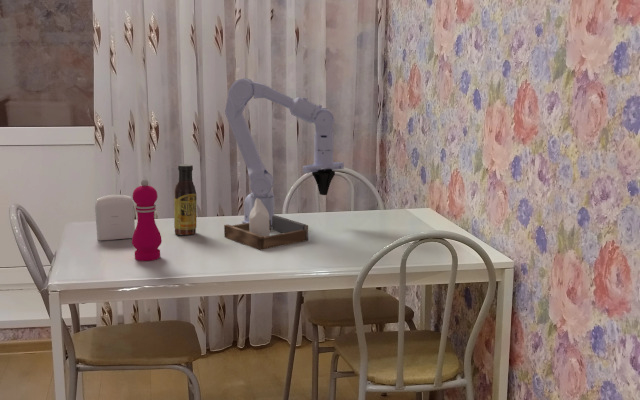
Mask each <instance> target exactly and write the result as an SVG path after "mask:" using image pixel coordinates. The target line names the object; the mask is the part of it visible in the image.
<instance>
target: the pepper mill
mask: <svg viewBox="0 0 640 400" xmlns="http://www.w3.org/2000/svg"><path fill="white" fill-rule="evenodd" d="M157 200H158V192H157V190H156V188H155V187H153V186H150V185H149V180H147V179H146V178H145V179H141V182H140V185H139V186H137V187H136V188H135V189H134V190H133V192H132V201H133V203H135V204H136V205H134V207H135V209H134V212H136V214H137V222H136V226H135V227H136V228H135V231H134V234H133V237H132V238H131V243H132V244H131V245H132V246H133V247H134V249H135V251H134V259H135V260H136V261H141V262H150V261H155V260H159V259H160V258H161V249H159V247H160V246H161V244H162V242H163V240H162V234H161V232H160V230H159V228H158V226H157V223H156V220H155V212H156V210H157V208H156V206H157V205H156V204H155V203H156V202H157Z"/></svg>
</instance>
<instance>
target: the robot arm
mask: <svg viewBox="0 0 640 400" xmlns="http://www.w3.org/2000/svg"><path fill="white" fill-rule="evenodd" d="M251 99H266V100H269V101H270V102H273V103H275V104H277V105H279V106H282V107H285V108H286V109H289V111H290V114H291V116H294V117H296V118H298V119H300V120H303V121H304V122H307V123H309V124H314V125H315V126H314V129H315V131H314V132H315V133H314V135H313V139H314V140H313V145H314V146H313V147H314V148H313V152H314V153H313V163H312V164H307V165H302V173H304V174H310V173H311V174H312V176H313V178H314V180H315V182H316V186H317V189H318V193H319V195H321V196H328V192H329V188H330V185H331V182H332V180H333V179H334V176H335V174H336V171H335V170H344V169H345V167H344V166H345V165H344V164H345V163H344V162H342V161H334V137H335V136H334V127H333V125H334V124H335V119H334V114H333V112H332V111H331V110H330V109H328V108H326V107H323V105H322V104H316V103H314V102H312V101H309V100H308V98H307V97H305V96H303V97H301V96H297V97H296V98H292V97H290V95H289V96H288V95H286V94H284V93H282V92H280V91H279V90H277V89H274V88H273V87H270V86H269V85H267V84H264V83H261V82H258V81H255V80H252V79H249V78H247V77H245V78H244V77H243V78H240V79H236V80H235V81H234V82H232V84H231V86H230V88H229V89H228V92H227V99H226V105H225V109H224V114H225V116H226V119H227V122H228V125H229V127H230V129H231V132H232V134H233V137H234V138H235V141H236V144H237V146H238V148H239V151H240V153H241V154H240V155H241V156H242V159H243V161H244V163H245V165H246V168H247V169H246V170H247V172H248V177H249V180H250V185H249V187H250V190H251V191H250V193H249V194H248V195H246V197H245V199H244V201H243V202H244V203H243V207H244V209H243V211H244V212H243V213H244V217H243V219H244V220H241V224H244V223H249V215H250V212H251V210H252V208H253V207H254V203H255V200H256V198H258V199H260V200H261V202H262V203H263V205H264V206H265V207H266V209H267V210H268V213H269V220H271V227H272V216H274V215H275V192H273V191H272V188H273V186H274V181H275V179H274V177H273V175H272V174H271V173H270V172H269V171H268V170H267V168H266V166H265V164H264V163H263V161H262V157H261V156H260V153H259V151H258V148H257V146H256V144H255V140H254V138H253V136H252V133H251V131H250V128H249V126H248V123H247V121H246V119H245V116H244V114H243V113H244V110H245V109H246V107H247V104H248V102H249V101H250V100H251Z"/></svg>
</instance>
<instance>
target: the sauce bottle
mask: <svg viewBox="0 0 640 400" xmlns="http://www.w3.org/2000/svg"><path fill="white" fill-rule="evenodd" d="M177 169H178V182H177V184H176V185H175V188H174V200H173V201H174V203H173V204H174V205H173V206H174V208H173V209H174V215H173V217H174V218H173V219H174V220H173V221H174V224H173V225H174V227H173V228H174V234H175V235H178V236H191V235H194V234H196V232H197V201H198V200H197V192H196V191H197V190H196V186H195V185H194V182H193V170H194V166H193V164H184V163H183V164H178V166H177Z"/></svg>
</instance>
